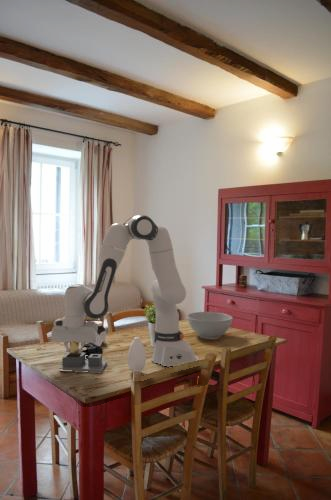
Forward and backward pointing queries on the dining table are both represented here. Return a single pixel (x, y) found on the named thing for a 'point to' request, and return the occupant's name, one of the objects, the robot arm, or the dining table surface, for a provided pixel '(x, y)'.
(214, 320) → the decorative bowl
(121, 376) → the dining table surface
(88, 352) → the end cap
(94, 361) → the socket block
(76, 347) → the pipe nipple
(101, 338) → the spread jar
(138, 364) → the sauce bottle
